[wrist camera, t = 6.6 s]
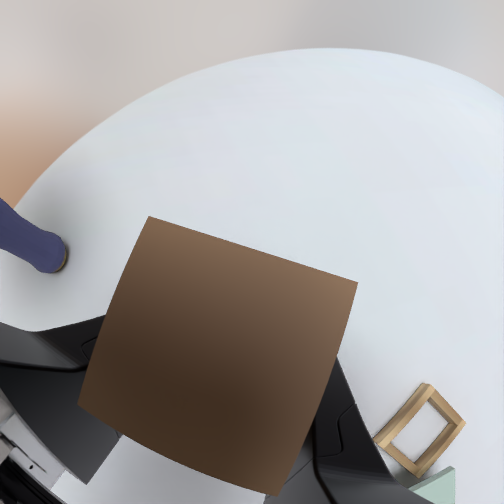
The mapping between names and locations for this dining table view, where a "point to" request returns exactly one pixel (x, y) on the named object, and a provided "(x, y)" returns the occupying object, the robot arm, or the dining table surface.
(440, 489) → the lid
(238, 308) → the brown block
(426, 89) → the dining table surface
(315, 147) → the dining table surface
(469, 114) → the dining table surface
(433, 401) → the frame
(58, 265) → the rubber mallet
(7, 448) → the robot arm
